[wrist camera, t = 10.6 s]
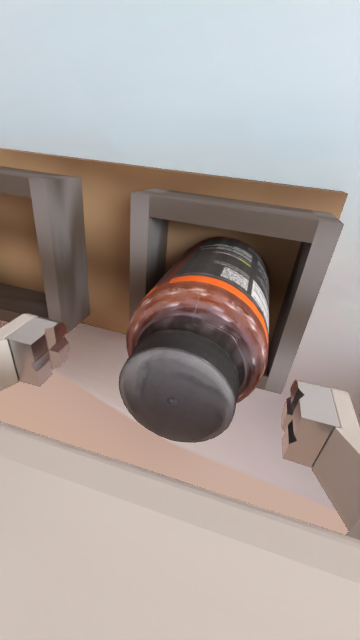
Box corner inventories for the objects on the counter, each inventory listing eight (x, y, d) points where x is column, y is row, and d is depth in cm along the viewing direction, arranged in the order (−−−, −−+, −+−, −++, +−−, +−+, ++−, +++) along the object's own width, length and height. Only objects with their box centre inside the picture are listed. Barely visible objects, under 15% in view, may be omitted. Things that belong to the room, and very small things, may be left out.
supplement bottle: (182, 318, 21) (105, 446, 12) (175, 234, 18) (68, 313, 9) (267, 323, 19) (260, 479, 10) (274, 233, 17) (273, 328, 7)
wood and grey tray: (-36, 143, 21) (-113, 138, 17) (342, 191, 16) (365, 201, 12) (-1, 292, 27) (-52, 316, 23) (283, 361, 22) (285, 408, 18)
